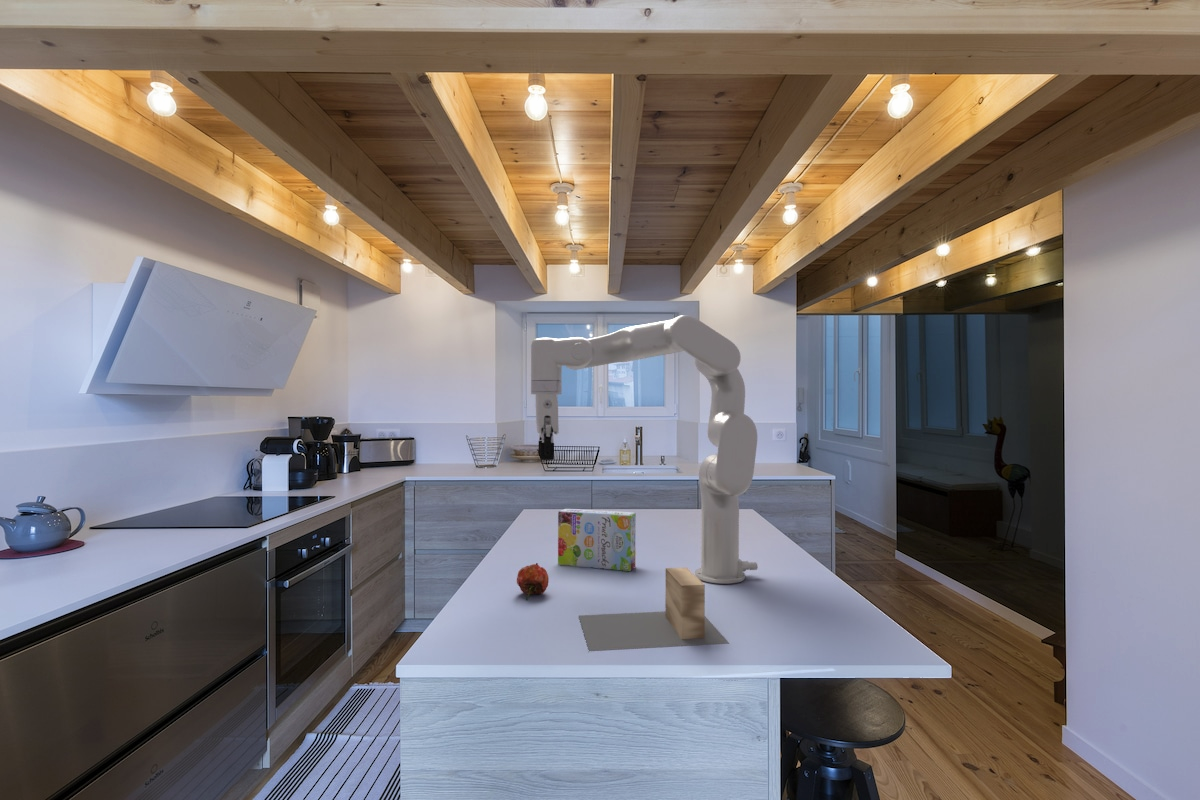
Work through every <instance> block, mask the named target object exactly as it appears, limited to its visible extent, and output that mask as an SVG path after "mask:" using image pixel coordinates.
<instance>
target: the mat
mask: <svg viewBox="0 0 1200 800" xmlns="http://www.w3.org/2000/svg"><path fill="white" fill-rule="evenodd" d="M578 620H580V621H579V623H581V624H580V626H581V629H582V630H583V631H582V633H584V634H583V637H584V640H586V641H585V643H587V644H586V647H588V648H587V650H589V651H588V652H596V651H597V652H598V651H600V652H602V651H615V650H616V651H617V650H634V649H635V650H636V649H637V650H638V649H651V648H652V649H653V648H657V649H658V648H670V647H671V648H673V647H674V648H675V647H688V646H689V647H691V646H705V645H706V646H708V645H710V646H711V645H725V644H726V645H727V644H730V642H729V641H728V640H727V639H726V638H725V636H724V635H723V634H722V633H721V632H720V631H719V630H718V629H717V628H716V626H715V625H714V624H713V623H712V622H711V621H710V620H709V619H708V618H707V617H706V616H705V638H694V639H681V638H680V636H679V635H678V634H677V632H676V631H675V629H674V628H673V627H672V625H671V624H670V622H669V621H668V620H667V618H666V617H665V611H647V612H644V611H643V612H625V613H622V612H621V613H604V614H600V613H599V614H585V615H584V614H583V615H582V614H581V615H578Z"/></svg>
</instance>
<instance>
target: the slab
mask: <svg viewBox="0 0 1200 800" xmlns="http://www.w3.org/2000/svg"><path fill="white" fill-rule="evenodd" d="M705 587H706V586H705V583H704V582H703V581H702V580H700V579H698V578H697V577H696V576H695V573H693V572H692V570H690V569H689V568H688V567H686V566H685V567H665V592H664V593H665V595H664V596H665V607H664V608H665V611H664V612H665V617H666V618H667V620H668V621H669V622H670V624H671V625H672V627H673V628H674V629H675V631H676V632H677V634H678V635H679V636H680V638H681V639H694V638H705V617H706V615H705V614H706V605H705V604H706V600H705V598H706V597H705V591H706V590H705V589H706V588H705Z"/></svg>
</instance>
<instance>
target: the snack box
mask: <svg viewBox="0 0 1200 800" xmlns="http://www.w3.org/2000/svg"><path fill="white" fill-rule="evenodd" d="M557 515H558V516H557V524H558V525H557V533H558V534H557V565H559V564H560V566H568V565H570V567H579V566H583V567H582V568H590V567H594V568H593V569H600V568H604V569H603V570H611V569H614V571H622V570H623V571H624V572H631V571H633V569H635V568H636V554H637V553H636V552H637V551H636V549H637V548H636V535H637V534H636V521H637V520H636V519H637V516H636V512H631V511H614V510H613V511H611V510H600V509H599V510H597V509H596V510H595V509H579V508H564V509H561V510H559V511H558V514H557ZM571 565H572V566H571ZM634 567H635V568H634ZM623 571H622V572H623Z"/></svg>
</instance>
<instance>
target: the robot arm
mask: <svg viewBox="0 0 1200 800" xmlns="http://www.w3.org/2000/svg"><path fill="white" fill-rule="evenodd" d="M682 352H685V353H686V354H688V355H690V357H692V358H694V363H695V364H694V365H695V367H696V369H697V370H698V372H699V373H701V375H703V376H704V377H705V378H706V380H707V381H708V383H709V385H710V389H711V396H710V397H711V398H710V399H711V400H710V402H711V403H710V410H709V417H708V424H707V438H708V440H709V441H710V443H711V444H712V445H713V446H714V447H716V448H717V453H713V454H710V455H708V456H706V458H704V459H703V461H701V464H700V466H699V470H698V481H699V491H700V501H701V505H700V506H701V508H700V509H701V513H700V514H701V515H700V517H701V518H700V521H701V522H700V523H701V524H700V526H701V527H700V531H701V533H700V535H701V536H700V539H701V541H700V544H701V546H700V549H701V550H700V559H701V560H700V564H701V565H700V567H698V568H697V569H695V572H694V575H695V576H696V577H697V578H698V579H699V580H700V581H701V582H707V583H711V584H712V583H713V584H720V585H721V584H722V585H724V584H725V585H727V584H729V585H731V584H737V583H741V582H743V581H744V580H745V579H746V574H745V572H746V571H757V570H758V562H756V561H754V562H753V561H752V562H751V561H748V560H742V559H740V506H739V505H740V504H739V503H740V502H739V496H741V495H742V494H744V493H745V492H746V491H747V490H749V488H750V486H751V484H752V482H753V477H754V472H755V464H756V454H757V446H758V429H757V427H756V424H755V422H754V420H753V419H752V418H751V416H749V415H747V414H745V402H746V386H745V381H744V378H743V375H742V374H741V372H740V371H739V369H738V367H739V366H740V363H741V351H740V350H739V347H738V346H737V345H736V344H735V343H734V342H733V341H732V340H730V339H729V338H727V337H725V336H724V335H722V334H721V333H719V332H718V331H716V330H715V329H713V328H711V326H709V325H707V324H705V323H704V322H702V321H701V320H699V319H698V318H695V317H694V316H691V315H687V314H685V315H684V314H683V315H678V316H677V317H674V318H672V319H668V320H662V321H656V322H651V323H645V324H639V325H632V326H628V327H625V328H621V329H619V330H617V331H615V332H612V333H609V334H606V335H602V336H596V337H592V338H585V337H580V336H576V337H568V338H567V337H565V338H553V337H539V338H538V337H537V338H534V339H533V340H532V341H531V345H530V395H535V423H536V431H537V433H538V435H539V436H538V437H539V440H538V456H539V457H540V460H541V461H553V460H555V443H554V435H558V434H559V433H560V432H559V400H558V395H562V385H563V384H562V383H563V382H562V374H563V373H562V368H563V366H564V367H566V368H567V369H569V370H573V371H574V370H575V371H576V370H577V371H578V370H582V369H589V368H593V367H599V366H604V365H605V366H606V365H609V364H616V363H627V362H632V361H638V360H643V359H644V360H645V359H647V358H649V359H650V358H654V357H659V356H666V355H673V354H676V353H682Z"/></svg>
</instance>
